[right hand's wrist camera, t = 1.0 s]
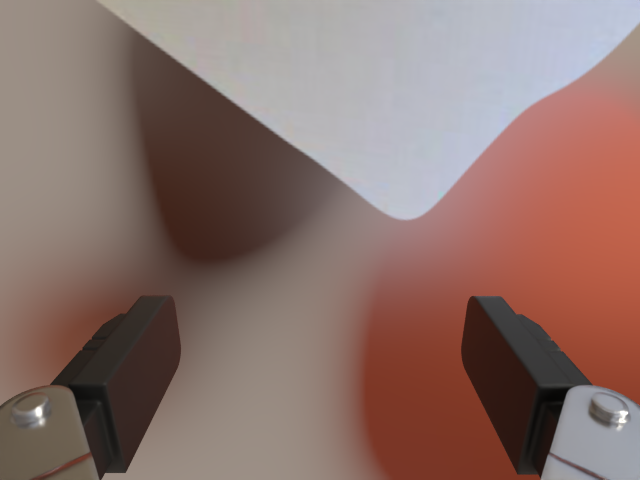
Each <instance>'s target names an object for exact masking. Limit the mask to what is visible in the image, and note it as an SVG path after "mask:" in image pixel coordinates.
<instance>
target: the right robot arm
mask: <svg viewBox="0 0 640 480" xmlns="http://www.w3.org/2000/svg"><path fill="white" fill-rule="evenodd" d="M180 354H181V344H180V337H179V330H178V323H177V316H176V309H175V303H174V300H173V298H172V296H141V297H140V298H139V299H138V300H137V301H136V303H135V304H134V305H133V306H132V307H131V309H130V310H129V311H128V312H127V313H126V314H119V315H118V316H116V317H114V318H113V319H111V320H110V321H108V322H106V323H105V324H103V325H102V326H101V327H100V329H99V330H98V331H97V332H96V333H95V334H94V335H93V337H92V340H89V341H88V342H87V343H86V344H85V346H84V347H83V350H81V351H79V352H78V353H77V355H76V356H75V357H74V358H73V359H72V360H71V361H70V363H69V364H68V365H67V366H66V367H65V368H64V369H63V370H62V372H61V373H60V374H59V375H58V376H57V377H56V378H55V379H54V381H53V382H52V383H51V384H50V385H47V386H41V387H37V388H33V389H30V390H27V391H25V392H22V393H20V394H18V395H16V396H14V397H12V398H11V399H9V400H8V401H6V402H5V403H3V404H2V405H1V406H0V480H101V479H102V478H103V476H104V474H105V473H126V471H127V469H128V467H129V465H130V463H131V461H132V459H133V457H134V455H135V453H136V451H137V449H138V447H139V445H140V443H141V441H142V439H143V437H144V435H145V433H146V431H147V429H148V427H149V425H150V423H151V420H152V418H153V416H154V414H155V412H156V410H157V408H158V406H159V404H160V402H161V400H162V398H163V396H164V394H165V392H166V390H167V388H168V386H169V384H170V382H171V380H172V378H173V376H174V374H175V372H176V370H177V368H178V365H179V361H180ZM461 354H462V361H463V365H464V368H465V370H466V372H467V374H468V376H469V378H470V380H471V382H472V384H473V386H474V388H475V390H476V392H477V394H478V396H479V398H480V400H481V402H482V404H483V406H484V408H485V410H486V412H487V414H488V416H489V418H490V420H491V422H492V424H493V426H494V428H495V430H496V432H497V434H498V436H499V438H500V440H501V442H502V444H503V446H504V448H505V450H506V452H507V454H508V456H509V458H510V460H511V462H512V464H513V466H514V468H515V470H516V472H517V474H538V475H539V477H540V478H541V480H640V406H639V405H638V404H637V403H635V402H634V401H632V400H631V399H629V398H628V397H626V396H624V395H622V394H620V393H618V392H615V391H613V390H610V389H607V388H603V387H599V386H593V385H592V384H591V382H590V381H589V380H588V379H587V378H586V377H585V376H584V375H583V373H582V372H581V371H580V370H579V369H578V368H577V367H576V366H575V364H574V363H573V362H572V361H571V360H570V359H569V358H568V357H567V356H566V354H565V353H564V352H562V351H560V348H559V347H558V345H557V344H556V343H555V342H554V341H551V338H550V336H549V335H548V334H547V333H546V332H545V331H544V330H543V329H542V327H541V326H540V325H538V324H537V323H535V322H533V321H532V320H530V319H528V318H527V317H525V316H524V315H521V314H516V313H515V312H514V311H513V310H512V309H511V307H510V306H509V305H508V304H507V303H506V301H505V300H504V299H503V298H502V297H500V296H472V297H470V299H469V301H468V305H467V311H466V318H465V325H464V332H463V338H462V346H461Z"/></svg>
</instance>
